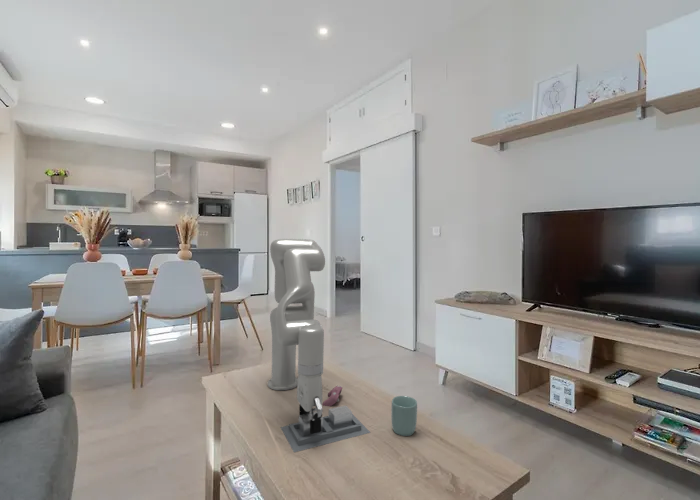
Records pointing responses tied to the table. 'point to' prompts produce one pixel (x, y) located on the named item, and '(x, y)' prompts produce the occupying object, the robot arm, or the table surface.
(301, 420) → the billet
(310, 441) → the grey fixture tray
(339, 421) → the block
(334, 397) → the video game controller
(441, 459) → the table surface
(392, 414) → the cup
